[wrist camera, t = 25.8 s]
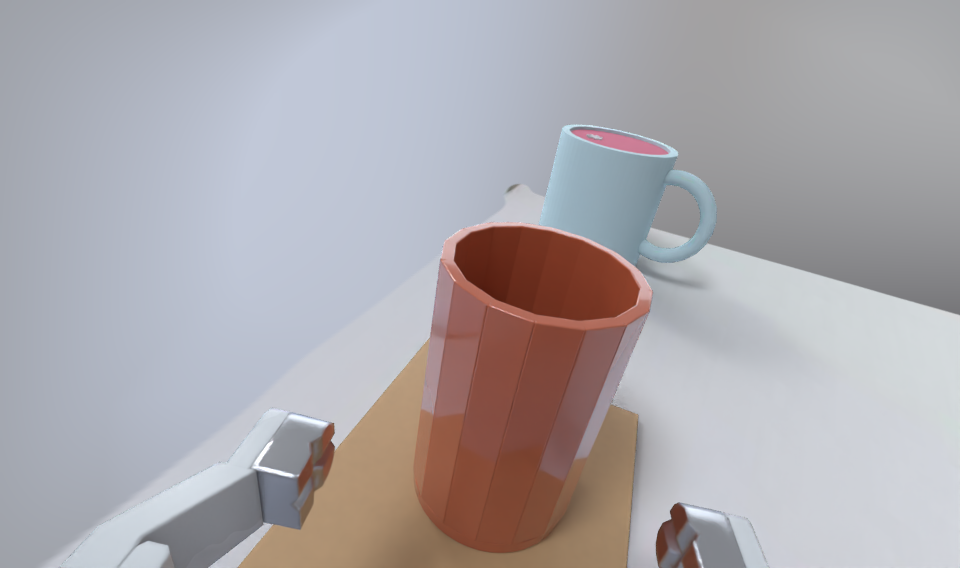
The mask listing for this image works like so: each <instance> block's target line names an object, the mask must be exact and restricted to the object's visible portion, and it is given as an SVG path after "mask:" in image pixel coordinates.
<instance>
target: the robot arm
mask: <svg viewBox="0 0 960 568" xmlns="http://www.w3.org/2000/svg"><path fill="white" fill-rule="evenodd" d="M334 433H335V432H334V423H331V422H327V421H324V420H320V419H316V418H312V417H308V416H304V415H301V414H297V413H293V412H289V411H285V410H281V409H276V408H271V409H269V410H268V411H266V412H265V413H264V415H263V416H262V417H261V418H260V420H259V421H258V422H257V424H256V425H255V426H254V427H253V429H252V430H251V431H250V433H249V434H248V435H247V437H246V438H245V439H244V440H243V442H242V443H241V444H240V446H239V447H238V448H237V450H236V451H235V452H234V453H233V455H232V456H231V457H230V459H229V460H228V461H227V463H224V462H218V463H216V464H214V465H213V466H211V467H209V468H207V469H205V470H203V471H201V472H199V473H197V474H195V475H194V476H192V477H190V478H188V479H186V480H184V481H182V482H180V483H178V484H176V485H174V486H173V487H171V488H169V489H167V490H165V491H163V492H161V493H159V494H157V495H155V496H153V497H152V498H150V499H148V500H146V501H144V502H142V503H140V504H138V505H136V506H134V507H133V508H131V509H129V510H127V511H125V512H123V513H121V514H119V515H117V516H115V517H113V518H112V519H110V520H108V521H106V522H104V523H102V524H100V525H98V526H97V527H96V528H95V529H94V531H93V532H92V533H91V534H90V535H89V536H88V537H87V538H86V539H85V540H84V541H83V542H82V543H81V544H80V546H79V547H78V548H77V549H76V550H75V551H74V552H73V553H72V554H71V555H70V556H69V557H68V558H67V559H66V560H65V562H64V563H63V564H62V565H61V566H60V567H59V568H208V567H209V566H211V565H212V564H213V563H215V562H216V561H217V560H218V559H220V558H221V557H222V556H224V555H225V554H226V553H228V552H229V551H230V550H231V549H233V548H234V547H235V546H237V545H238V544H239V543H240V542H242V541H243V540H244V539H246V538H247V537H248V536H249V535H251V534H252V533H253V532H255V531H256V530H257V529H259V528H260V527H261V526H262V525H263V522H265V523H269V524H274V525H279V526H283V527H288V528H293V529H297V530H301V528H302V526H303V524H304V522H305V520H306V518H307V516H308V514H309V512H310V510H311V508H312V506H313V505H314V491H316V490H317V489H319V488H321V487H322V486H323V485H324V483H325V481H326V479H327V477H328V475H329V472H330V469H331V466H332V463H333V458H334V450H335V446H334V445H333V443H332V442H331V439H332V437H333V435H334ZM670 514H671V518H672V519H671V520H668V521H666V522H664V523H662V525H661V527H660V529H659V531H658V534H657V540H656V556H657V561H658V566H659V568H769V566H768V563H767V561H766V558H765V556H764V553H763V551H762V548H761V546H760V544H759V541H758V539H757V536H756V534H755V531H754V529H753V527H752V524H751V523H750V521H749V520H748V519H747V518H745V517H740V516H736V515H732V514H727V513H722V512H720V511H716V510H712V509H707V508H703V507H698V506H693V505H689V504H684V503H680V502H679V503H677V504H674V506H673V507H672V509H671V510H670Z"/></svg>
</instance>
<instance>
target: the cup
mask: <svg viewBox="0 0 960 568" xmlns="http://www.w3.org/2000/svg"><path fill="white" fill-rule="evenodd" d="M652 296H653V291H652V289H651V287H650V286H649V284H648V282H647V281H646V279H645V277H644V276H643V274H642V272H641V271H640V270H639V269H637V268H636V267H635V266H633V265H632V264H631V263H630V262H628V261H627V260H626V259H625V258H623V257H622V256H621V255H619V254H618V253H616V252H615V251H613V250H611V249H608V248H606V247H604V246H602V245H600V244H598V243H596V242H594V241H592V240H590V239H588V238H585V237H582V236H579V235H576V234H573V233H569V232H566V231H563V230H560V229H556V228H553V227H546V226H540V225H534V224H527V223H519V222H489V223H484V224H479V225H475V226H471V227H467V228H463V229H461V230H459V231H458V232H456V233H455V234H454V235H452V236H451V237H449V238H448V239H447V240H445V242H444V244H443V249H442V254H441V259H440V266H439V273H438V281H437V288H436V296H435V304H434V311H433V319H432V327H431V334H430V342H429V350H428V357H427V365H426V373H425V380H424V388H423V396H422V403H421V411H420V419H419V426H418V434H417V442H416V449H415V457H414V465H413V480H414V487H415V492H416V495H417V497H418V500H419V503H420V504H421V506H422V508H423V510H424V512H425V513H426V515H427V516H428V517H429V519H430V520H431V521H432V522H433V523H434V524H435V525H436V527H437V528H438V529H440V530H441V531H442V532H443V533H444V534H446V535H447V536H448V537H450V538H452V539H453V540H455V541H456V542H458V543H460V544H463V545H465V546H467V547H470V548H473V549H476V550H479V551H485V552H490V553H508V552H515V551H519V550H524V549H526V548H529V547H531V546H533V545H535V544H537V543H539V542H540V541H542V540H543V539H545V538H546V537H547V536H548V535H549V534H550V533H551V532H552V531H553V530H554V529H555V527H556V526H557V524H558V523H559V521H560V519H561V517H562V516H563V515H564V513H565V511H566V509H567V506H568V504H569V502H570V499H571V497H572V494H573V492H574V490H575V487H576V485H577V483H578V480H579V478H580V475H581V473H582V471H583V468H584V466H585V464H586V461H587V459H588V456H589V454H590V452H591V449H592V447H593V445H594V442H595V440H596V437H597V435H598V433H599V430H600V428H601V426H602V423H603V421H604V418H605V416H606V414H607V411H608V409H609V407H610V404H611V402H612V400H613V397H614V395H615V392H616V390H617V388H618V385H619V383H620V381H621V378H622V376H623V373H624V371H625V369H626V366H627V364H628V362H629V359H630V357H631V354H632V352H633V350H634V347H635V345H636V343H637V340H638V338H639V335H640V333H641V331H642V328H643V326H644V324H645V321H646V319H647V316H648V314H649V312H650V307H651V301H652Z"/></svg>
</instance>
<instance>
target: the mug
mask: <svg viewBox="0 0 960 568" xmlns="http://www.w3.org/2000/svg"><path fill="white" fill-rule="evenodd" d="M677 156H678V152H677V151H676V150H675V149H673V148H672V147H670V146H668V145H665V144H663V143H661V142H658V141H655V140H652V139H649V138H646V137H643V136H640V135H636V134H632V133H628V132H624V131H619V130H615V129H609V128H604V127H597V126H589V125H567V126H564V127H563V128H562V133H561V136H560V141H559V144H558V149H557V153H556V157H555V161H554V165H553V169H552V173H551V178H550V182H549V186H548V189H547V194H546V197H545V202H544V206H543V210H542V214H541V218H540V222H539V225H540V226H546V227H553V228H556V229H560V230H563V231H566V232H569V233H573V234H576V235H579V236H582V237H585V238H588V239H590V240H592V241H594V242H596V243H598V244H600V245H602V246H604V247H606V248H608V249H611V250H613V251H615V252H616V253H618V254H619V255H621V256H622V257H623V258H625V259H626V260H627V261H628V262H630V263H631V264H632V265H633V266H636V264H637V261H638V259H639V256H640V254H641V255H643V256H645V257H646V258H648V259H650V260H654V261H657V262H661V263H674V262H678V261H682V260H685V259H687V258H689V257H691V256H693V255H695V254H696V253H698V252H699V251H700V250H701V249H702V248H703V247H704V246H705V245H706V244H707V242H708V240H709V239H710V237H711V236H712V234H713V231H714V228H715V224H716V220H717V207H716V203H715V200H714V196H713V194H712V193H711V191H710V189H709V188H708V186H707V185H706V184H705V183H704V182H703V181H701V180H700V179H699V178H698V177H697V176H695V175H692V174H690V173H688V172H686V171H680V170H672V169H673V167H674V164H675V161H676V159H677ZM666 185H674V186H679V187H681V188H683V189H685V190H687V191H688V192H689V193H691V194H692V195H693V196H694V198H695V199H696V201H697V203H698V206H699V209H700V223H699V227H698V229H697V231H696V233H695V234H694V236H693V237H692V238H691V239H690V240H689V241H688V242H687V243H685V244H683V245H681V246H679V247H675V248H660V247H656V246H654V245H652V244H651V243H649V242H648V241H647V240H646V238H647V235H648V232H649V230H650V227H651V225H652V222H653V219H654V216H655V214H656V211H657V208H658V206H659V203H660V201H661V198H662V196H663V193H664V190H665V188H666Z"/></svg>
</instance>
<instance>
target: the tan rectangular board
mask: <svg viewBox="0 0 960 568" xmlns="http://www.w3.org/2000/svg"><path fill="white" fill-rule="evenodd" d="M429 342H430V338H429V339H428V340H427V341H426V343H425V344H424V345H423V346H422V347H421V349H420V350H419V351H418V352H417V353H416V355H415V356H414V357H413V358H412V359H411V361H410V362H409V363H408V364H407V365H406V367H405V368H404V369H403V370H402V371H401V373H400V374H399V375H398V376H397V377H396V379H395V380H394V381H393V382H392V383H391V384H390V386H389V387H388V388H387V389H386V390H385V392H384V393H383V394H382V395H381V396H380V398H379V399H378V400H377V401H376V402H375V404H374V405H373V406H372V407H371V408H370V410H369V411H368V412H367V413H366V414H365V416H364V417H363V418H362V419H361V420H360V422H359V423H358V424H357V425H356V426H355V428H354V429H353V430H352V431H351V432H350V434H349V435H348V436H347V437H346V438H345V440H344V441H343V442H342V443H341V444H340V446H339V447H338V448H337V449H336V450H335V452H334V458H333V463H332V466H331V469H330V472H329V475H328V477H327V479H326V481H325V483H324V485H323V486H322V487H321V488H319V489H317V490H316V491H314V505H313V506H312V508H311V510H310V512H309V514H308V516H307V518H306V520H305V522H304V524H303V526H302V528H301V530H297V529H293V528H288V527H283V526H279V525H273V526H272V527H271V528H270V529H269V531H268V532H267V533H266V534H265V535H264V536H263V538H262V539H261V540H260V541H259V542H258V544H257V545H256V546H255V547H254V548H253V550H252V551H251V552H250V553H249V554H248V556H247V557H246V558H245V559H244V560H243V562H242V563H241V564H240V565H239V566H238V568H627V556H628V543H629V530H630V517H631V504H632V491H633V478H634V465H635V452H636V439H637V426H638V414H635V413H632V412H630V411H627V410H624V409H622V408H619V407H616V406H613V405H611V404H610V407H609V409H608V411H607V414H606V416H605V418H604V421H603V423H602V426H601V428H600V430H599V433H598V435H597V437H596V440H595V442H594V445H593V447H592V449H591V452H590V454H589V456H588V459H587V461H586V464H585V466H584V468H583V471H582V473H581V475H580V478H579V480H578V483H577V485H576V487H575V490H574V492H573V494H572V497H571V499H570V502H569V504H568V506H567V509H566V511H565V513H564V515H563V516H562V517H561V519H560V521H559V523H558V524H557V526H556V527H555V529H554V530H553V531H552V532H551V533H550V534H549V535H548V536H547V537H546V538H545V539H543V540H542V541H540V542H539V543H537V544H535V545H533V546H531V547H529V548H526V549H524V550H519V551H515V552H508V553H490V552H485V551H479V550H476V549H473V548H470V547H467V546H465V545H463V544H460V543H458V542H456V541H455V540H453V539H452V538H450V537H448V536H447V535H446V534H444V533H443V532H442V531H441V530H440V529H438V528H437V527H436V525H435V524H434V523H433V522H432V521H431V520H430V519H429V517H428V516H427V515H426V513H425V512H424V510H423V508H422V506H421V504H420V503H419V500H418V497H417V495H416V492H415V487H414V480H413V465H414V457H415V449H416V442H417V434H418V426H419V419H420V411H421V403H422V396H423V388H424V380H425V373H426V365H427V357H428V350H429Z"/></svg>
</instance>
